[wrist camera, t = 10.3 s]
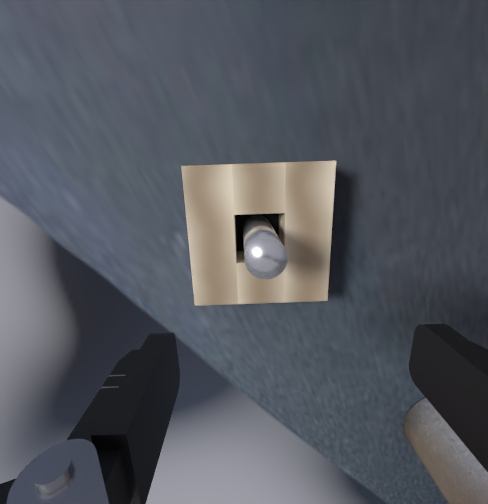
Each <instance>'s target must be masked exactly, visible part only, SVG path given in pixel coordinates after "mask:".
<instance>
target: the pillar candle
mask: <svg viewBox="0 0 488 504" xmlns="http://www.w3.org/2000/svg"><path fill="white" fill-rule="evenodd" d="M404 434H405V437H406V438H407V439H408V441H409V443H410V444H411V446H412V447H413V449H414V451H415V452H416V454H417V456H418V457H419V459H420V460H421V462H422V463H423V465H424V466H425V468H426V469H427V471H428V473H429V474H430V476H431V477H432V479H433V480H434V482H435V483H436V485H437V486H438V488H439V489H440V491H441V492H442V494H443V495H444V497H445V498H446V500H447V501H448V503H449V504H488V472H487V471H486V470H485V469H484V467H483V466H482V465H481V464H480V463H479V461H478V460H477V459H476V458H475V457H474V455H473V454H472V453H471V452H470V450H469V449H468V448H467V447H466V446H465V444H464V443H463V442H462V441H461V440H460V438H459V437H458V436H457V435H456V433H455V432H454V431H453V430H452V429H451V427H450V426H449V425H448V424H447V423H446V421H445V420H444V419H443V418H442V417H441V415H440V414H439V413H438V412H437V410H436V409H435V408H434V407H433V406H432V404H431V403H430V402H429V401H428V400H427V398H423V399H422V400H420V401H419V402H418V403H416V404H415V405H414V406H412V408H411V409H410V410H409V412H408V413H407V415H406V417H405V419H404Z"/></svg>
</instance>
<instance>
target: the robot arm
mask: <svg viewBox="0 0 488 504" xmlns="http://www.w3.org/2000/svg"><path fill="white" fill-rule="evenodd" d="M409 371H410V375H411V378H412V380H413V382H414V383H415V385H416V386H417V387H418V389H419V390H420V391H421V392H422V393H423V395H424V396H425V397H426V398H427V400H428V401H429V402H430V403H431V404H432V406H433V407H434V408H435V409H436V410H437V412H438V413H439V414H440V415H441V417H442V418H443V419H444V420H445V421H446V423H447V424H448V425H449V426H450V427H451V429H452V430H453V431H454V432H455V433H456V435H457V436H458V437H459V438H460V440H461V441H462V442H463V443H464V444H465V446H466V447H467V448H468V449H469V450H470V452H471V453H472V454H473V455H474V457H475V458H476V459H477V460H478V461H479V463H480V464H481V465H482V466H483V467H484V469H485V470H486V471H487V472H488V350H487V349H485V348H483V347H481V346H479V345H477V344H475V343H473V342H471V341H469V340H468V339H466V338H465V337H463V336H462V335H461V334H459V333H458V332H457V331H455V330H454V329H452V328H451V327H450V326H448V325H446V324H424V325H418V326H417V327H416V329H415V332H414V338H413V344H412V350H411V355H410V361H409ZM179 382H180V371H179V363H178V354H177V346H176V338H175V335H174V333H151V334H149V335H148V337H147V339H146V340H145V342H144V344H143V346H142V347H141V349H140V350H132V351H131V352H129V353H128V354H127V355H126V356H124V357H123V358H122V359H121V360H120V361H118V363H117V364H116V366H115V367H114V369H113V371H112V372H111V374H110V377H109V378H107V380H106V381H105V383H104V384H103V386H102V389H100V390H99V392H98V393H97V395H96V396H95V398H94V399H93V401H92V402H91V404H90V405H89V407H88V408H87V410H86V411H85V413H84V414H83V416H82V418H81V419H80V421H79V422H78V424H77V425H76V427H75V428H74V430H73V431H72V433H71V434H70V436H69V437H68V439H67V440H66V441H64V442H61V443H58V444H56V445H54V446H52V447H50V448H48V449H47V450H45V451H44V452H42V453H41V454H40V455H38V456H37V457H36V458H34V459H33V460H32V461H31V462H30V463H29V464H28V465H27V466H26V467H25V468H24V469H23V470H22V472H21V473H20V474H19V475H18V477H17V478H16V479H13V480H11V481H8V482H5V483H2V484H0V504H145V503H146V500H147V496H148V493H149V490H150V486H151V483H152V480H153V476H154V472H155V469H156V466H157V462H158V459H159V456H160V452H161V449H162V445H163V442H164V438H165V435H166V431H167V428H168V425H169V421H170V418H171V414H172V411H173V407H174V404H175V401H176V397H177V394H178V390H179Z"/></svg>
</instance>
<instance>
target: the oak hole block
mask: <svg viewBox="0 0 488 504" xmlns="http://www.w3.org/2000/svg"><path fill="white" fill-rule="evenodd" d="M181 167H182V178H183V188H184V198H185V209H186V219H187V230H188V240H189V250H190V261H191V271H192V282H193V292H194V302H195V306H198V305H226V304H253V303H281V302H309V301H327V299H328V283H329V268H330V252H331V236H332V220H333V204H334V188H335V172H336V161H314V162H285V163H256V164H227V165H198V166H181ZM274 213H279V239H280V240H281V242H282V244H283V245H284V247H285V249H286V251H287V254H288V262H287V265H286V268H285V269H284V271H283V272H282V273H281V274H280V275H278V276H277V277H275V278H272V279H260V278H257V277H255V276H253V275H252V274H251V273H250V272H249V271H248V269H247V268H246V265H245V258H244V251H237V240H236V217H235V215H245V214H274Z"/></svg>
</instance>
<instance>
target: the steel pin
mask: <svg viewBox="0 0 488 504" xmlns="http://www.w3.org/2000/svg"><path fill="white" fill-rule="evenodd" d="M243 238H244V258H245V265H246V268H247V269H248V271H249V272H250V273H251V274H252V275H253V276H255V277H257V278H260V279H272V278H275V277H277V276H278V275H280V274H281V273H282V272H283V271H284V269H285V268H286V265H287V262H288V254H287V251H286V249H285V247H284V245H283V244H282V242H281V240H280V239H279V237H278V235H277V234H276V232H275V230H274V229H273V227H272V225H271V224H270V222H269V221H268V220H267V219H266V218H265V217H263V216H252V217H250V218H249V219H248V220H247V221H246V222H245V224H244V226H243Z"/></svg>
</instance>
